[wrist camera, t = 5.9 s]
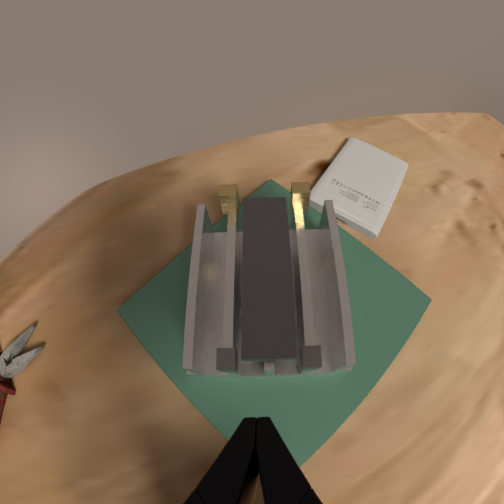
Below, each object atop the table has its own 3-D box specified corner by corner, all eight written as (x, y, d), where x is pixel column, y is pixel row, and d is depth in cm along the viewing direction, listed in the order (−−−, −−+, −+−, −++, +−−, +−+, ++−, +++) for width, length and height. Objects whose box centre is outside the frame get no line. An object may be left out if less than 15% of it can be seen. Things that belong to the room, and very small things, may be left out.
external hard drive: (405, 172, 32) (373, 243, 27) (348, 145, 34) (303, 206, 30) (409, 163, 30) (378, 234, 26) (350, 135, 33) (304, 196, 28)
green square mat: (426, 303, 23) (431, 299, 22) (279, 480, 17) (279, 484, 16) (271, 185, 31) (271, 179, 30) (121, 313, 25) (116, 310, 24)
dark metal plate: (295, 359, 15) (297, 357, 15) (242, 361, 16) (240, 359, 15) (285, 203, 21) (285, 196, 20) (244, 205, 21) (243, 198, 20)
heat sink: (347, 373, 20) (381, 358, 13) (191, 377, 21) (155, 364, 14) (332, 237, 26) (348, 182, 19) (200, 242, 27) (179, 188, 20)
